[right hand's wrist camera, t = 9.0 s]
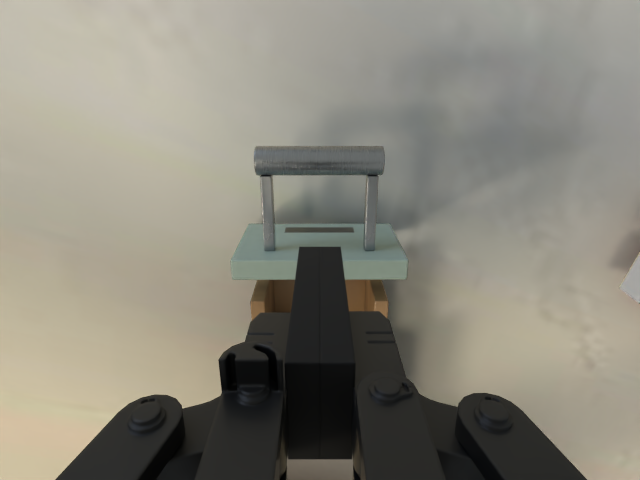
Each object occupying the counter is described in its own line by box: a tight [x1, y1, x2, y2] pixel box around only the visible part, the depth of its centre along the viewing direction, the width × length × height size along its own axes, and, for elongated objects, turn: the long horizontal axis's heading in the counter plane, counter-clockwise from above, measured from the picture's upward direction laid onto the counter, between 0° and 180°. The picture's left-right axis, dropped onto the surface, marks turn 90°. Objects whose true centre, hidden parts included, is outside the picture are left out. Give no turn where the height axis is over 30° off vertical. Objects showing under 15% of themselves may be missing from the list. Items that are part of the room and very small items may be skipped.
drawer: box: [231, 146, 408, 320], centre depth 26 cm, size 19×10×6 cm, turn 0°
